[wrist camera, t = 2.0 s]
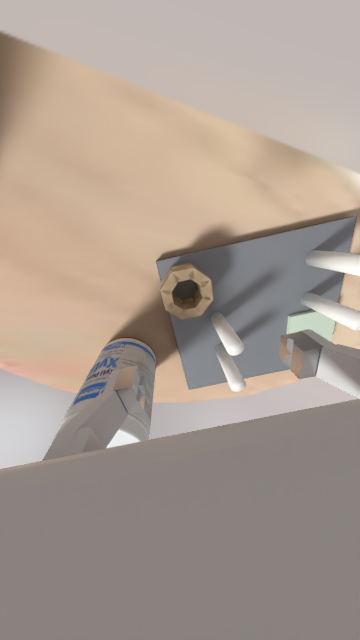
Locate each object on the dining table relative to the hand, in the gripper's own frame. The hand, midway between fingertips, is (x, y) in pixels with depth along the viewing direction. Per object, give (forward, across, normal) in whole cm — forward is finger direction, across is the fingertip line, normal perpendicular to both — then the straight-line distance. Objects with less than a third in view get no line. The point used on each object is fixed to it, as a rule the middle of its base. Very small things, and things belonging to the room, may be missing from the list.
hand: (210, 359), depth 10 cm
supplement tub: (+17, +12, +11) cm, 24 cm away
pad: (+16, -19, +12) cm, 27 cm away
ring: (+16, 0, 0) cm, 16 cm away
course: (+17, -10, +8) cm, 21 cm away
